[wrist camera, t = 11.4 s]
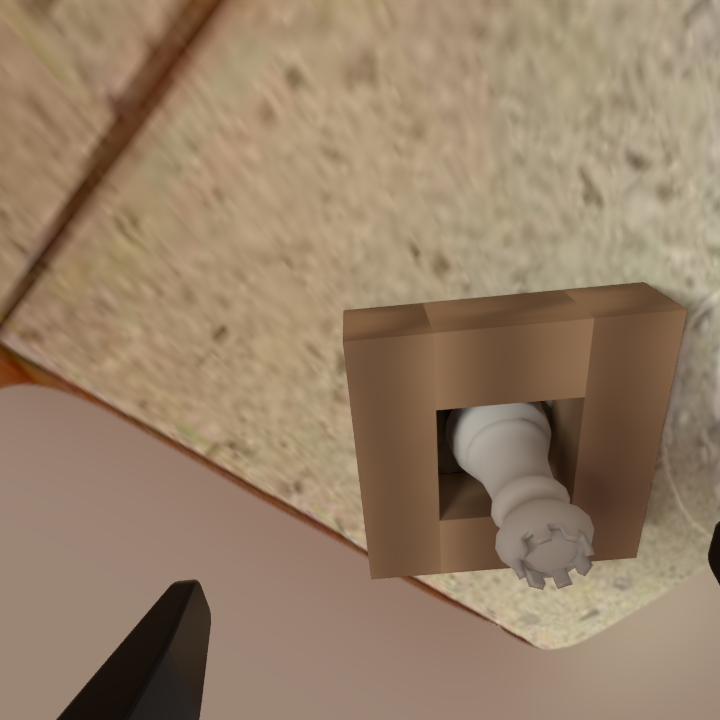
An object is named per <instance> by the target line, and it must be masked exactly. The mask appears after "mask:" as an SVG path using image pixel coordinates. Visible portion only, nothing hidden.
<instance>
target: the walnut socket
mask: <svg viewBox="0 0 720 720" xmlns="http://www.w3.org/2000/svg"><path fill="white" fill-rule="evenodd" d="M686 314H687V309H686V308H684V307H682V306H681V305H679V304H677V303H676V302H674V301H673V300H671V299H669V298H668V297H666V296H665V295H663V294H661V293H660V292H658V291H657V290H655V289H653V288H652V287H650V286H648V285H647V284H645V283H644V282H641V283H631V284H620V285H610V286H599V287H588V288H578V289H567V290H557V291H546V292H535V293H525V294H514V295H504V296H493V297H483V298H472V299H461V300H451V301H440V302H430V303H419V304H409V305H398V306H387V307H377V308H366V309H356V310H345V311H344V317H343V347H344V355H345V364H346V372H347V380H348V389H349V397H350V406H351V414H352V422H353V431H354V439H355V447H356V456H357V464H358V473H359V481H360V489H361V498H362V506H363V514H364V523H365V531H366V539H367V548H368V556H369V564H370V573H371V579H378V578H379V579H380V578H392V577H405V576H417V575H429V574H441V573H454V572H466V571H478V570H491V569H503V568H511V567H510V566H508V565H507V564H505V563H504V562H502V561H501V559H500V557H499V555H498V553H497V551H496V549H495V546H496V534H497V533H498V531H499V529H500V528H499V527H498V526H496V524H495V522H494V520H493V518H492V516H491V509H492V499H491V497H490V495H489V493H488V492H487V490H486V488H485V486H484V485H483V483H481V482H480V481H479V480H477V479H476V478H475V477H473V476H472V475H470V474H469V473H468V472H463V473H451V474H440V475H438V455H437V424H436V410H445V409H456V408H468V407H479V406H490V405H501V404H512V403H524V402H535V401H546V400H553V405H552V416H551V440H550V448H549V453H548V463H549V466H550V469H551V473H552V476H553V478H554V479H555V480H557V481H558V482H559V483H560V484H562V485H563V486H564V487H565V488H566V490H567V492H568V495H569V497H570V503H569V504H572V505H575V506H578V507H579V508H580V509H581V510H583V511H584V512H585V513H586V514H588V515H589V516H590V519H591V522H592V524H593V527H594V533H593V538H592V543H591V545H592V548H593V551H594V553H595V555H590V556H588V557H589V559H590V561H601V560H614V559H626V558H636V557H637V552H638V547H639V542H640V537H641V532H642V527H643V523H644V518H645V513H646V508H647V503H648V498H649V494H650V489H651V484H652V479H653V474H654V469H655V464H656V460H657V455H658V450H659V445H660V440H661V435H662V430H663V426H664V421H665V416H666V411H667V406H668V401H669V396H670V392H671V387H672V382H673V377H674V372H675V367H676V363H677V358H678V353H679V348H680V343H681V338H682V333H683V329H684V324H685V319H686Z"/></svg>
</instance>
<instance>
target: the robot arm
mask: <svg viewBox="0 0 720 720" xmlns="http://www.w3.org/2000/svg"><path fill="white" fill-rule="evenodd" d="M708 560H709V565H710V567H711V570H712V572H713V573H714V575H715V577H716V579H717V581H718V583H719V585H720V521H719V522H718V523H717V524H716V526H715V530H714V533H713V537H712V541H711V545H710V548H709V552H708ZM210 626H211V613H210V609H209V606H208V603H207V601H206V598H205V595H204V593H203V590H202V587H201V585H200V583H199V582H198V581H197V580H185V581H177V582H175V583H173V584H172V585H171V586H170V587H169V588H168V589H167V590H166V591H165V593H164V594H163V595H162V596H161V597H160V598H159V600H158V601H157V602H156V603H155V604H154V605H153V607H152V608H151V609H150V610H149V611H148V613H147V614H146V615H145V616H144V617H143V618H142V619H141V621H140V622H139V623H138V624H137V625H136V627H135V628H134V629H133V630H132V631H131V633H130V634H129V635H128V636H127V637H126V638H125V639H124V641H123V642H122V643H121V644H120V645H119V647H118V648H117V649H116V650H115V651H114V652H113V653H112V655H111V656H110V657H109V658H108V659H107V661H106V662H105V663H104V664H103V665H102V666H101V668H100V669H99V670H98V671H97V672H96V673H95V675H94V676H93V677H92V678H91V679H90V680H89V682H88V683H87V684H86V685H85V686H84V688H83V689H82V690H81V691H80V692H79V693H78V695H77V696H76V697H75V698H74V699H73V700H72V702H71V703H70V704H69V705H68V706H67V708H66V709H65V710H64V711H63V712H62V713H61V714H60V716H59V717H58V718H57V719H56V720H199V717H200V710H201V703H202V695H203V685H204V677H205V669H206V661H207V652H208V644H209V635H210Z"/></svg>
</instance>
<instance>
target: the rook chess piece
mask: <svg viewBox="0 0 720 720" xmlns="http://www.w3.org/2000/svg"><path fill="white" fill-rule="evenodd" d="M446 439H447V441H448V443H449V445H450V447H451V451H452V453H453V455H454V457H455V459H456V461H457V463H458V464H459V465H460V467H461V468H462V469H464V470H465V471H466V472H468V473H469V474H470V475H472V476H473V477H475V478H476V479H477V480H479V481H480V482H481V483H483V485H484V486H485V488H486V490H487V492H488V493H489V495H490V497H491V499H492V509H491V516H492V518H493V520H494V522H495V524H496V526H498V527H499V528H500V529H499V531H498V533H497V534H496V546H495V549H496V551H497V553H498V555H499V557H500V559H501V561H502V562H504V563H505V564H507V565H508V566H510V567H511V568H512V569H514V570H515V572H516V574H517V576H518V578H519V580H520V579H522V578H524V577H526V579H527V581H528V584H529V587H533V588H538V589H542V590H543V588H544V586H545V581H544V579H543V578H549V577H553V578H554V581H555V583H556V586H557V588H558V589H559V588H562V587H565V586H568V585H572V582H571V579H570V577H569V575H568V573H567V572H569V571H570V570H572V569H573V568H576V570H577V572H578V573H579V574H581V575H584V576H585V575H586V574H587V573H588V571H589V570H590V569H591V567H592V566H593V565H592V563H591V561H590V559H589V557H588V556H590V555H595V553H594V551H593V548H592V545H591V543H592V538H593V533H594V527H593V524H592V522H591V519H590V516H589V515H588V514H586V513H585V512H584V511H583V510H581V509H580V508H579V507H578V506H575V505H572V504H569V503H570V497H569V495H568V492H567V490H566V488H565V487H564V486H563V485H562V484H560V483H559V482H558V481H557V480H555V479H554V478H553V476H552V473H551V469H550V466H549V463H548V460H547V459H548V453H549V448H550V440H551V427H550V424H549V422H548V419H547V416H546V414H545V412H544V411H543V408H542V405H541V403H540V401H535V402H524V403H512V404H501V405H490V406H479V407H468V408H456V409H452V411H451V413H450V415H449V417H448V419H447V421H446Z"/></svg>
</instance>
